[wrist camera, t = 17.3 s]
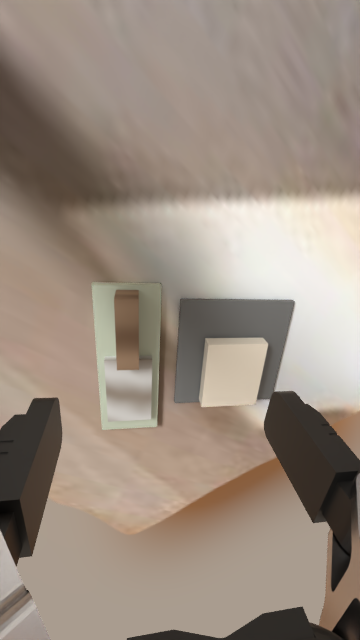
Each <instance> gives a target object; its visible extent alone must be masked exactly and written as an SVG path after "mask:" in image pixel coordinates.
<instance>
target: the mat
mask: <svg viewBox="0 0 360 640" xmlns="http://www.w3.org/2000/svg"><path fill="white" fill-rule="evenodd" d="M293 306H294V301H293V300H249V299H181V300H180V316H179V332H178V348H177V364H176V380H175V396H174V402H175V403H188V402H200V401H199V393H200V384H201V375H202V365H203V356H204V347H205V338H264V339H265V341H266V342H267V343H268V348H267V353H266V358H265V362H264V367H263V372H262V376H261V381H260V386H259V391H258V395H257V399H271V396H272V394H273V390H274V385H275V381H276V377H277V373H278V369H279V364H280V360H281V356H282V352H283V348H284V343H285V339H286V335H287V331H288V327H289V322H290V318H291V314H292V310H293Z"/></svg>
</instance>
